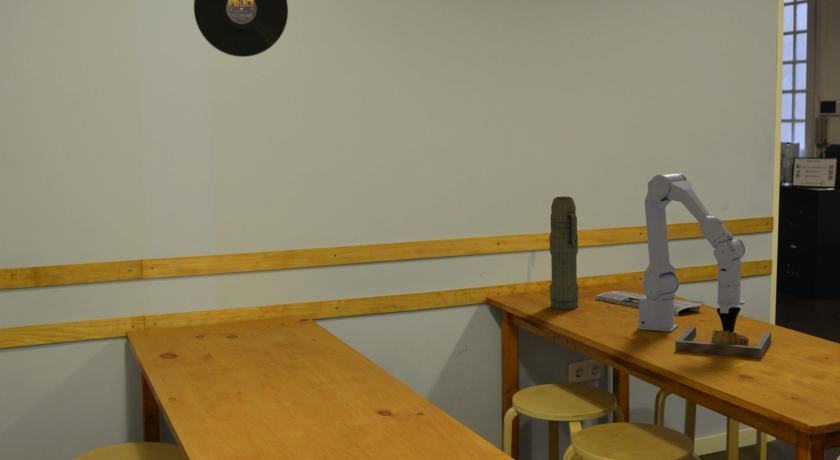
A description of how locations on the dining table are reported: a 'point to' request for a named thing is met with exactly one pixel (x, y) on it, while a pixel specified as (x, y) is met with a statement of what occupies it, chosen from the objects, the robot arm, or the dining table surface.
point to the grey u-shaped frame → (721, 346)
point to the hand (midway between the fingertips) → (728, 334)
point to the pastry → (728, 338)
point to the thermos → (564, 254)
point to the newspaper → (634, 298)
